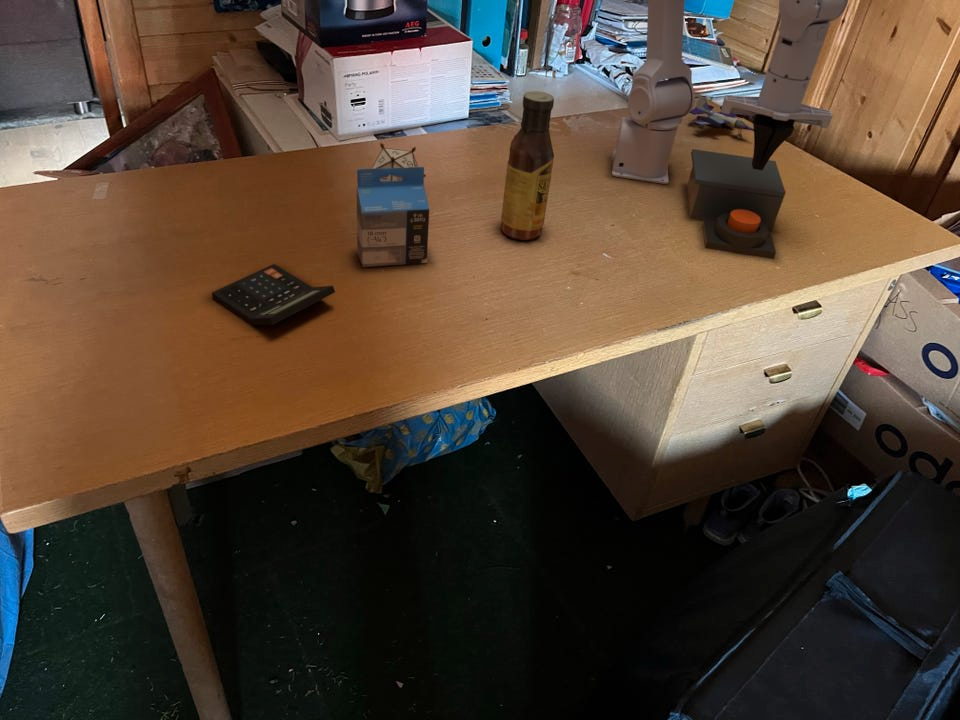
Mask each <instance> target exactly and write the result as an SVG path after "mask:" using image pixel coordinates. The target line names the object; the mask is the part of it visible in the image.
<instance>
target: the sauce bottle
mask: <svg viewBox="0 0 960 720" xmlns="http://www.w3.org/2000/svg"><path fill="white" fill-rule="evenodd" d="M554 101H555V97H554V96H553V95H552V94H550V93H547V92H545V91H539V90H538V91H537V90H534V91H533V90H532V91H527V92H525V93H523V98H522V108H523V109H522V118H521V122H520V129H519V130H518V131H517V133H516V134H515V135H514V136H513V138H512V140H511V142H510V146H509V155H508V160H507V164H506V173H505V181H504V191H503V199H502V208H501V216H500V217H501V223H500V227H501V228H500V229H501V231H502V232H503V233H504V235H505V236H507V237H509V238H511V239H515V240H521V241H530V240H535V239H537V238H538V237H539V236H540V235H541V233H542V232H543V226H544V224H545V220H546V219H545V218H546V212H547V205H548V199H549V192H550V185H551V179H552V172H553V167H554V159H555V154H554V149H553V144H552V139H551V134H550V127H551V126H550V123H551V115H552V111H553V109H554V104H555V103H554Z"/></svg>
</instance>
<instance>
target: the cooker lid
mask: <svg viewBox="0 0 960 720" xmlns="http://www.w3.org/2000/svg"><path fill="white" fill-rule="evenodd" d="M690 157H691V164H692V166H693V173H694V182H695V184H699V185H706V186H712V187H719V188H726V189H732V190H739V191H746V192H753V193H759V194H766V195H773V196H779V197H784V198H785V196H786V193H787V192H786V190H785V189H786V188H785V187H784V184H783V180H782V177H781V173H780V171H779V168H778V165H777V162H776V160H771V159H769V160H768V162H767V163H766V165H765V167H764V169H763V170H756V169H753V167H752V160H753V157H752V156H751V157H750V156H743V155H737V154H729V153H724V152H723V153H722V152H715V151H709V150H702V149H695V148H692V149H691V152H690Z"/></svg>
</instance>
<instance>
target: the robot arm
mask: <svg viewBox="0 0 960 720" xmlns="http://www.w3.org/2000/svg"><path fill="white" fill-rule="evenodd" d="M778 1H779V2H778V11H779V15H780V22H779V25H778V29H777V31H778V36H777V39H776V43H775V45H774V48H773V51H772V55H771V58H770V61H769V64H768V66H767V67H768V68H767V70H766V73H765V76H764V79H763V83H762V85H761V89H760V91H759V95H758V96H750V95H749V96H744V95H743V96H741V95H740V96H739V95H727V94H725V95H724V97H723V100H722V104H721V106H722V107H721V106H720V107H721V109H722V113H725V114H730V113H736V114H743V115H744V116H750V117H751V120H752V128H753V129H754V131H753V154H752V158H753V160H752V167H753V169H756V170H763V169H764V167H765V165H766V163H767V162H768V160H771V158H772V156H773V155H774V153H775V152H776V151H777V150H778V148H779V147H781V145H782V144H783V143H784V142H785V141H786V140H787V139H788V138H789V137H791V136H792V135H793V133H794V131H795V126H794V124H795V123H798V124H804V125H810V126H818V127H819V128H820V129H829V127H830V124H831V121H832V119H833V117H834V115H833V113H832V111H831V110H830V109H824V108H819V107H815V106H811V105H807V104H805V103H803V101H804V99H805V96H806V93H807V89H808V87H809V85H810V82H811V79H812V76H813V73H814V71H815V68H816V65H817V63H818V60H819V57H820V54H821V51H822V49H823V46H824V43H825V41H826V38H827V35H828V32H829V29H830V27H831V24H832V22H834V21H836V20H837V19H839V17H841V15H843V13H844V12H845V10H846V8H847V6H848V3H849V0H778ZM684 18H685V0H647V20H646V21H647V23H646V25H647V26H646V59H645V62H644V63H643V64H642V65H641V66H640V67H639V68H638V69H637V70H636V71H635V72H634V73H633V74H632V78H631V81H632V83H631V88H630V91H629V92H628V93H629V94H628V97H627V110H628V113H629V115H630V117H629V116H623V117H621V119H620V125H619V129H618V133H617V139H616V143H615V148H614V149H613V151H612V157H611V160H612V167H611V170H612V171H611V176H612V177H614V178H616V177H617V178H621V179H622V178H623V179H630V180H635V181H641V182H647V183H648V182H649V183H655V184H663V185H668V184H669V162H670V158H671V153H672V150H673V147H674V146H673V145H674V142H675V138H676V135H677V130H678V127H679V125H681V124H682V121H683V119H684V117H686V116H688V115H689V114H691V113H690V111H691V110H692V109H694V105H695V101H696V94H695V89H694V86H693V80H692V76H693V75H692V74H693V72H692V71H693V70H692V68H690V66H689V65H688V64H686V62H685V61H684V60H683V44H684V43H683V41H684V22H685V21H684V20H685V19H684ZM721 109H720V110H721Z"/></svg>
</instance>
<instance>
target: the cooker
mask: <svg viewBox="0 0 960 720" xmlns="http://www.w3.org/2000/svg"><path fill="white" fill-rule="evenodd" d="M686 192H687V193H686V194H687V203H688V213H689V219H690V220H696V221H697V220H698V221H702V222H704V219H706V220H712V221H717V218H718V217H720V216H721V215H722V214H724V213H731V212H732V211H733V210H736V209H743V210H748V211H751V212H754V213H756V214H757V215H758V216H759V217H760V218H761V221H762V222H763V223H764V224H766V225H767V228H768V229H770V232H773V227H774V225H775V223H776V220H777V217H778V215H779V212H780V209H781V206H782V204H783V201H784V198H785V196H784V197H779V196H773V195H766V194H759V193H753V192H746V191H739V190H732V189H726V188H719V187H712V186H706V185H699V184H695V182H694V173H693V165H692V166H691V170H690V174H689V177H688V181H687V184H686Z"/></svg>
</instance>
